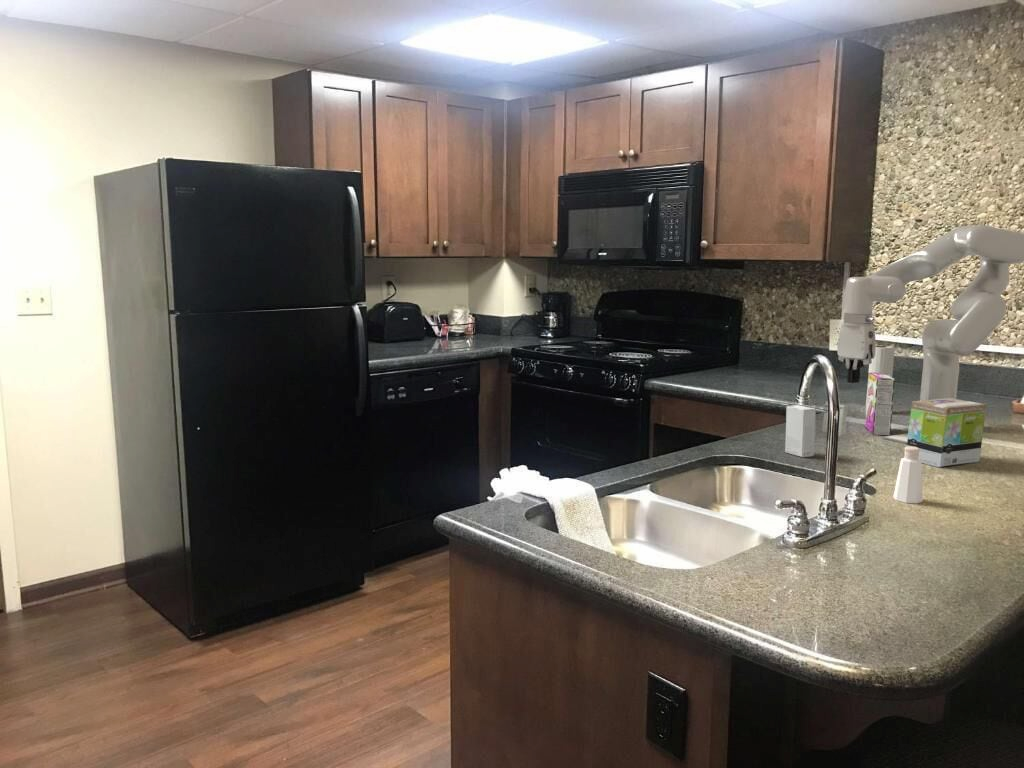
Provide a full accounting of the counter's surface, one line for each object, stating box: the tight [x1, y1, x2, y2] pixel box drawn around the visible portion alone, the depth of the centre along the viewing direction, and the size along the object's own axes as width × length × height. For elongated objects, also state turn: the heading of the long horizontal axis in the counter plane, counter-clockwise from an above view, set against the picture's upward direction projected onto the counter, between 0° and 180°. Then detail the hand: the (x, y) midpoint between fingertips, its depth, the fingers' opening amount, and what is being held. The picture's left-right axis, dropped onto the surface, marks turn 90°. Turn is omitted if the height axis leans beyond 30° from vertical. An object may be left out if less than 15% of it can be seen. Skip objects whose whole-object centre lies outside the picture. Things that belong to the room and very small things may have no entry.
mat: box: [881, 432, 908, 444], centre depth 221 cm, size 13×16×1 cm
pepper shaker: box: [893, 445, 923, 505], centre depth 167 cm, size 5×5×11 cm
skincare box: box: [784, 404, 817, 458], centre depth 205 cm, size 6×4×12 cm
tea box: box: [906, 398, 987, 468], centre depth 200 cm, size 15×10×15 cm, turn 117°
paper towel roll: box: [865, 345, 896, 404], centre depth 263 cm, size 7×6×21 cm
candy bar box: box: [864, 373, 896, 437], centre depth 233 cm, size 11×5×16 cm, turn 168°
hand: (853, 382), depth 240 cm, fingers closed
